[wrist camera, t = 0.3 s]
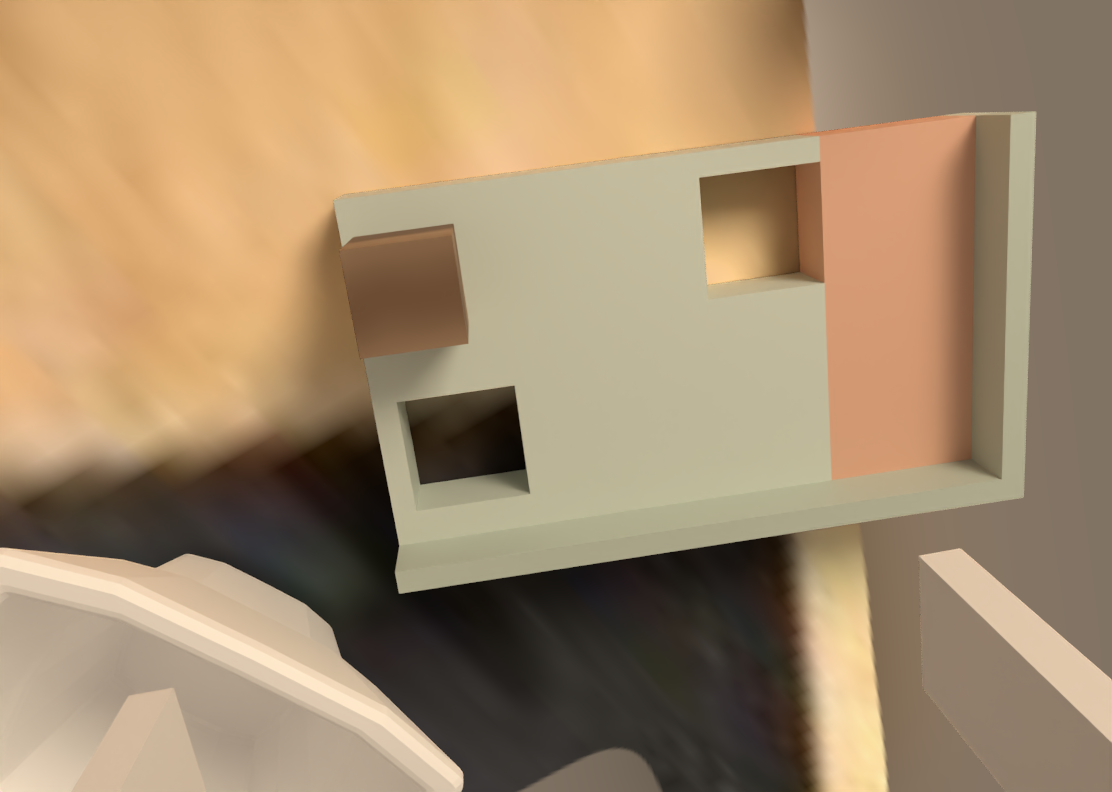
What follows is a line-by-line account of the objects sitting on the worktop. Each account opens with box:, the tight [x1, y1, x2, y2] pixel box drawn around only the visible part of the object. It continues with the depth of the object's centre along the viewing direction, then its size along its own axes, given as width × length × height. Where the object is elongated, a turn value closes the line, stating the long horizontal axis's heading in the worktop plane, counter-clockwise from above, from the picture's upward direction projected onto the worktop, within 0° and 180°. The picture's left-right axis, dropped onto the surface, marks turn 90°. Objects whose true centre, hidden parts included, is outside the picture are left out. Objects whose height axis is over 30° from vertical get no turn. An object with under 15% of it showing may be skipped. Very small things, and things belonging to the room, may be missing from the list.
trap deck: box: [333, 112, 1036, 594], centre depth 39 cm, size 16×27×6 cm, turn 97°
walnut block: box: [339, 224, 469, 359], centre depth 35 cm, size 4×4×4 cm
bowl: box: [0, 548, 463, 792], centre depth 37 cm, size 19×19×14 cm
